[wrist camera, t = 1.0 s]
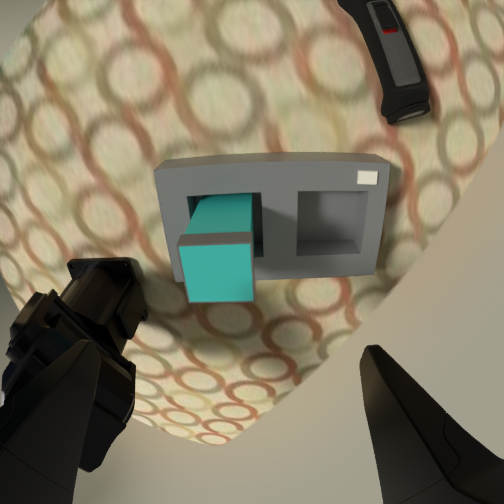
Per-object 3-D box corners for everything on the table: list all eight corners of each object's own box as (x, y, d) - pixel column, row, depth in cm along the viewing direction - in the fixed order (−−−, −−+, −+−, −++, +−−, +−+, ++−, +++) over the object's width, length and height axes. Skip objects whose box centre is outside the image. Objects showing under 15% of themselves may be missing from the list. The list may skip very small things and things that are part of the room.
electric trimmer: (340, -71, 9) (352, -90, 7) (424, 113, 16) (449, 119, 14) (291, -65, 10) (296, -86, 7) (380, 125, 17) (401, 132, 14)
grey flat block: (182, 262, 23) (174, 283, 20) (165, 160, 18) (152, 171, 16) (363, 256, 22) (374, 276, 20) (375, 154, 18) (391, 164, 16)
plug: (207, 238, 21) (188, 303, 15) (201, 192, 19) (176, 245, 13) (255, 236, 21) (255, 302, 15) (253, 189, 19) (252, 241, 13)
